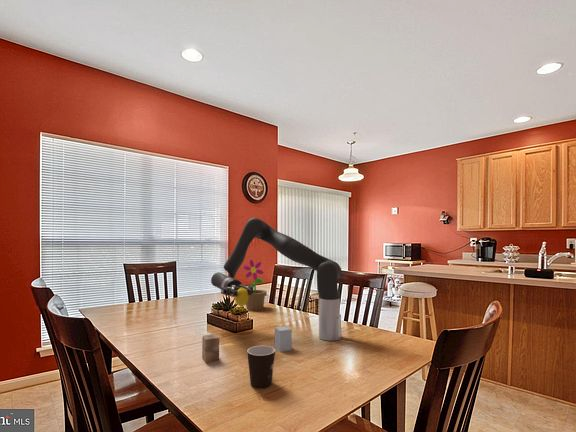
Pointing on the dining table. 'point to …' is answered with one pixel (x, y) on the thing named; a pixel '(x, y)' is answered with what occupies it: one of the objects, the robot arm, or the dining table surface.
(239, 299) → the lemon
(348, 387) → the dining table surface
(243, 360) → the dining table surface
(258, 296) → the flowerpot
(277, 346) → the slate block
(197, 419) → the dining table surface
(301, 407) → the dining table surface
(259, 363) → the coffee mug
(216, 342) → the walnut block
